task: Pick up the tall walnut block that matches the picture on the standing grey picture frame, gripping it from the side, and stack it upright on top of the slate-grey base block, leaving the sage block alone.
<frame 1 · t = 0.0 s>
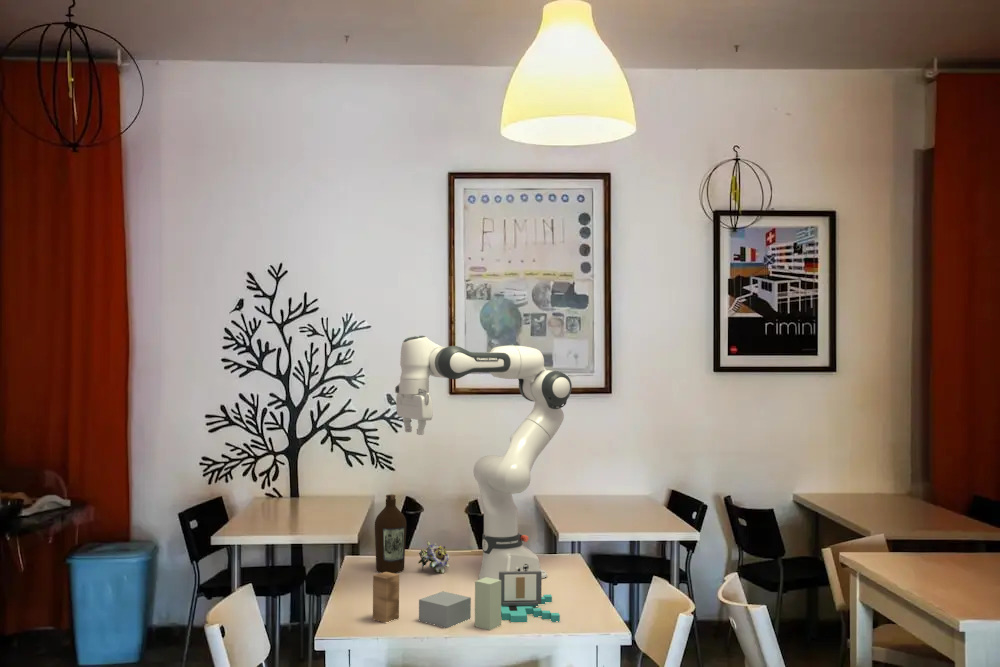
hand: (414, 433, 256), 48 cm above the table, tool pointing down, fingers open, 8 cm apart
slate base block: (444, 620, 227), on the table
alien figure: (519, 613, 235), on the table
walnut block: (385, 619, 227), on the table
passion flower: (432, 572, 277), on the table
sage block: (487, 625, 222), on the table
olive oil: (390, 570, 279), on the table
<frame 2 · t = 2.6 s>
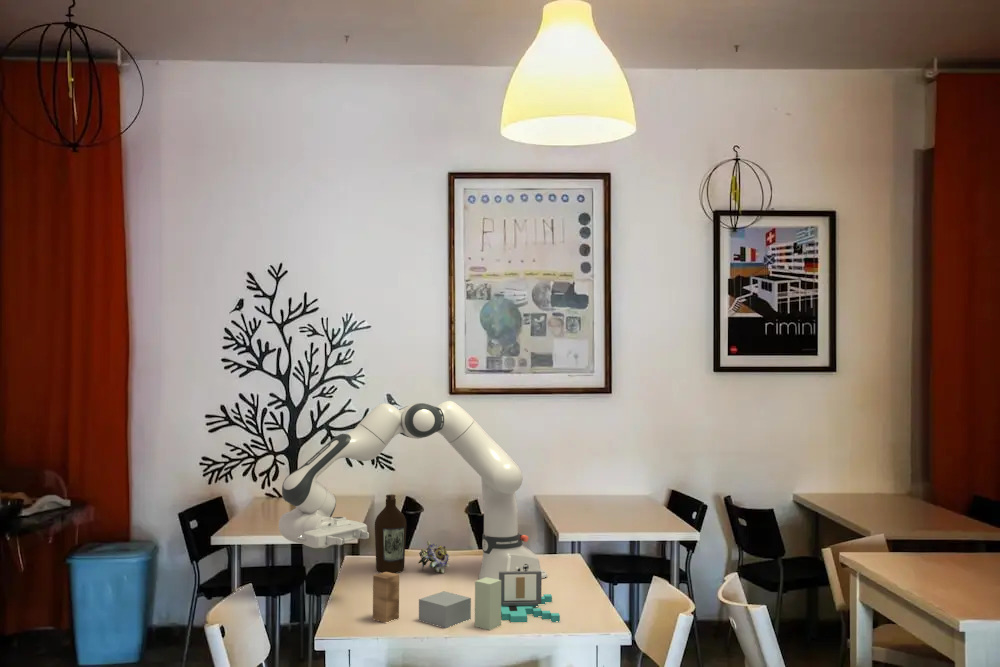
hand: (355, 538, 235), 20 cm above the table, tool horizontal, fingers open, 8 cm apart
nothing on the table moved.
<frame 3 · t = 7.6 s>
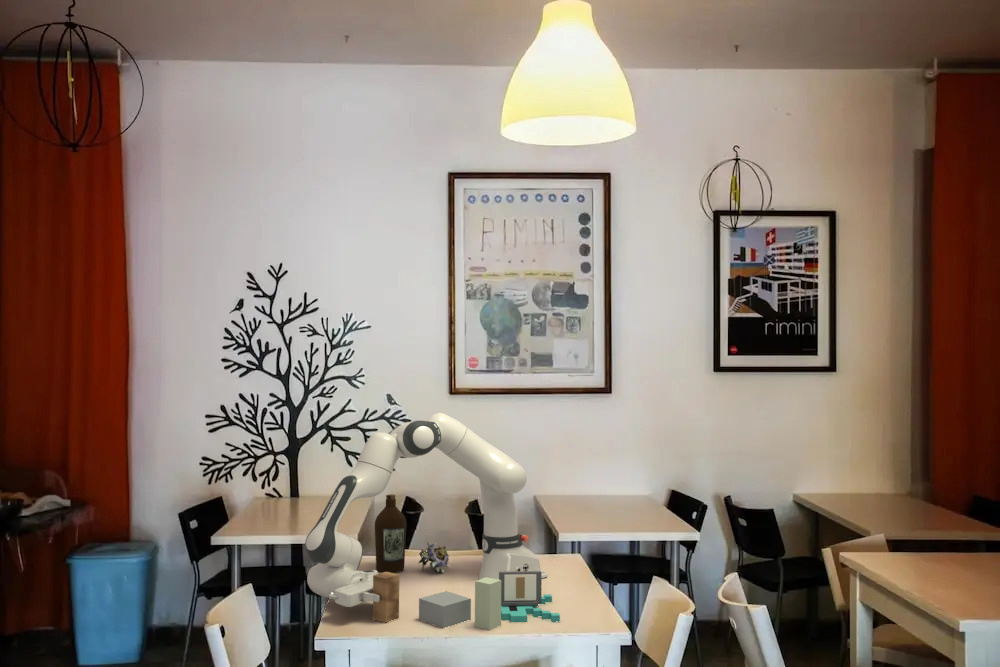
hand: (388, 595, 227), 7 cm above the table, tool horizontal, fingers closed on walnut block, 5 cm apart
walnut block: (385, 619, 227), on the table, touching gripper
everything else where it was.
when the fingers open (14 cm above the table, at t = 12.8 s): walnut block drops 2 cm, resting on slate base block.
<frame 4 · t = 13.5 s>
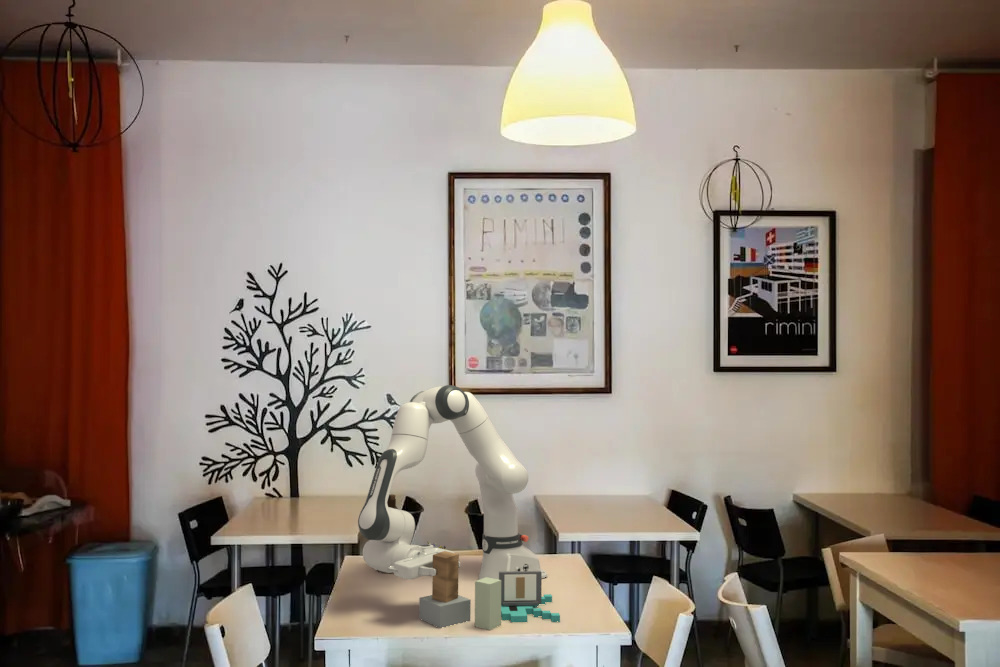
hand: (447, 568, 227), 14 cm above the table, tool horizontal, fingers open, 8 cm apart
slate base block: (444, 620, 227), on the table, touching walnut block
walnut block: (445, 598, 227), point 6 cm above the table, touching slate base block
everything else where it was.
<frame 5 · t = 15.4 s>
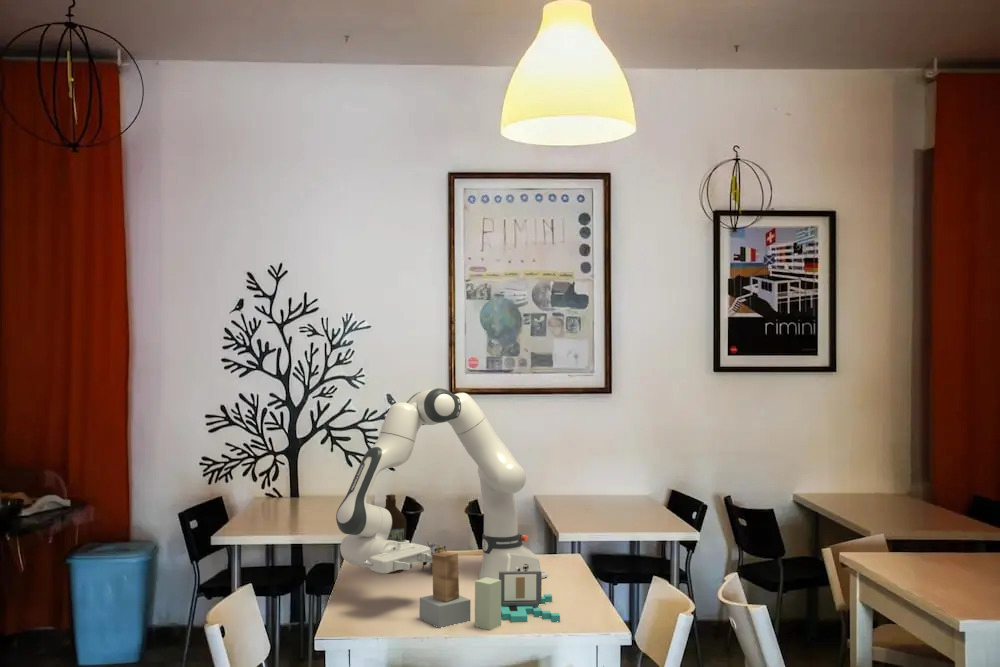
hand: (421, 563, 232), 14 cm above the table, tool horizontal, fingers open, 8 cm apart
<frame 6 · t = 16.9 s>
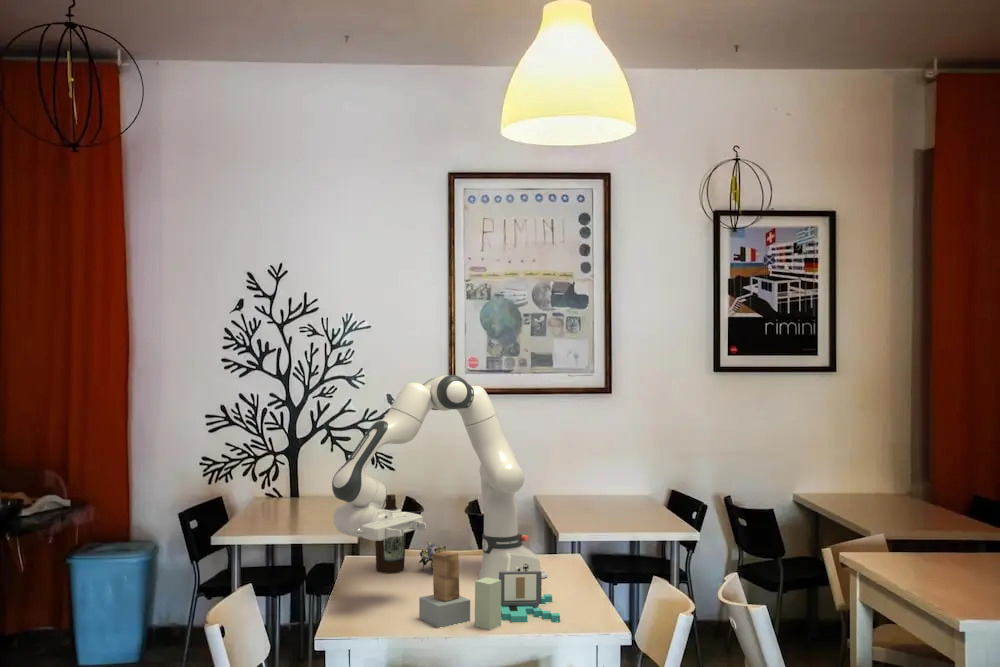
hand: (413, 529, 234), 23 cm above the table, tool horizontal, fingers open, 8 cm apart
nothing on the table moved.
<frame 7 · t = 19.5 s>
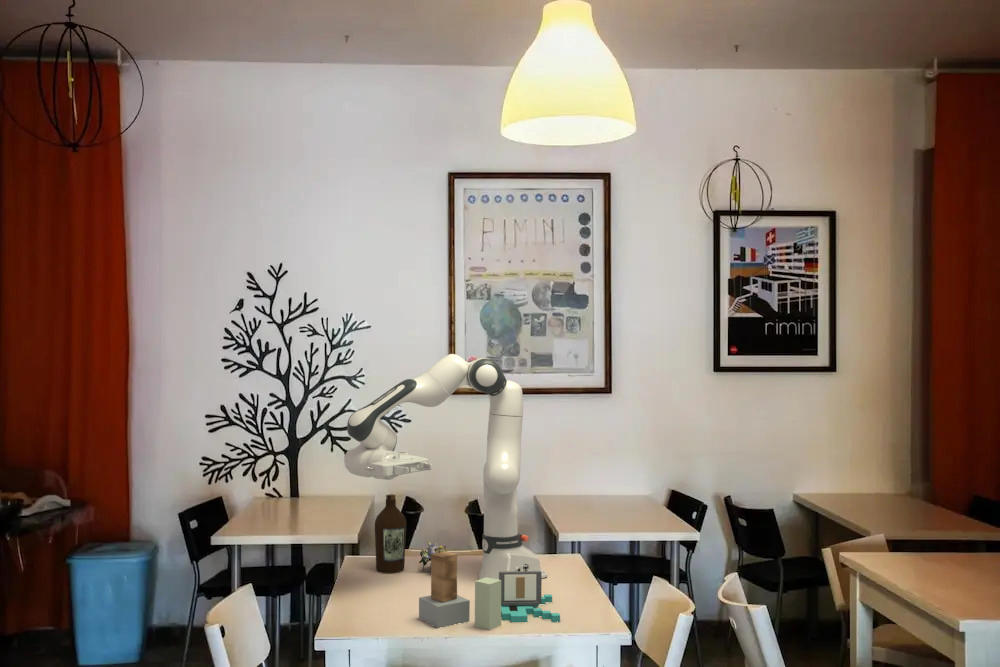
hand: (419, 468, 249), 38 cm above the table, tool horizontal, fingers open, 8 cm apart
nothing on the table moved.
at the end: walnut block 0.1 cm off-centre on the slate base block, point 6.0 cm above the slate base block's base; walnut block tilted 1°; sage block moved 0.0 cm from its start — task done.
